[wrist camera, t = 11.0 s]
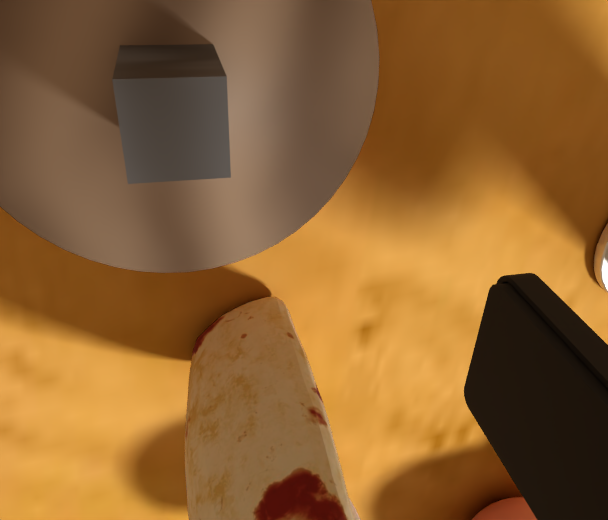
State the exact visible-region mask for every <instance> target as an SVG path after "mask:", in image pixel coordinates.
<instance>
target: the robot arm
mask: <svg viewBox="0 0 608 520" xmlns="http://www.w3.org/2000/svg"><path fill="white" fill-rule="evenodd" d="M594 272H595V276H596V279H597V281H598V283H599V284H600V286H601V287H602V288H603V289H604V290H605V291H606V292H607V293H608V224H607V225H606V227H605V229H604V230H603V232H602V234H601V237H600V239H599V242H598V244H597V247H596V252H595V256H594ZM464 396H465V401H466V404H467V406H468V408H469V409H470V411H471V413H472V414H473V416H474V418H475V419H476V421H477V422H478V424H479V426H480V427H481V429H482V431H483V432H484V434H485V435H486V437H487V439H488V440H489V442H490V444H491V445H492V447H493V449H494V450H495V452H496V453H497V455H498V457H499V458H500V460H501V462H502V463H503V465H504V466H505V468H506V470H507V471H508V473H509V475H510V476H511V478H512V480H513V481H514V483H515V484H516V486H517V488H518V489H519V491H520V493H521V494H522V496H523V497H524V499H525V501H526V502H527V504H528V506H529V507H530V509H531V511H532V512H533V514H534V515H535V517H536V519H537V520H608V345H607V344H606V343H605V342H604V341H603V340H602V339H601V338H600V337H599V336H598V335H597V334H596V333H595V332H594V331H593V330H592V329H591V328H590V327H589V326H588V325H587V324H586V323H585V322H584V321H583V320H582V319H581V318H580V317H579V316H578V315H577V314H576V313H575V312H574V311H573V310H572V309H571V308H570V307H569V306H568V305H566V304H565V303H564V302H563V301H562V300H561V299H560V298H559V297H558V296H557V295H556V294H555V293H554V292H553V291H552V290H551V289H550V288H549V287H548V286H547V285H546V284H545V283H544V282H543V281H542V280H541V279H540V278H539V277H538V276H537V275H535V274H532V273H525V274H516V275H506V276H502V277H500V279H499V280H498V281H497V284H495V285H492V287H491V288H490V290H489V293H488V297H487V301H486V305H485V309H484V313H483V316H482V320H481V324H480V328H479V332H478V336H477V340H476V344H475V348H474V352H473V355H472V359H471V363H470V367H469V371H468V375H467V379H466V383H465V387H464Z"/></svg>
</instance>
